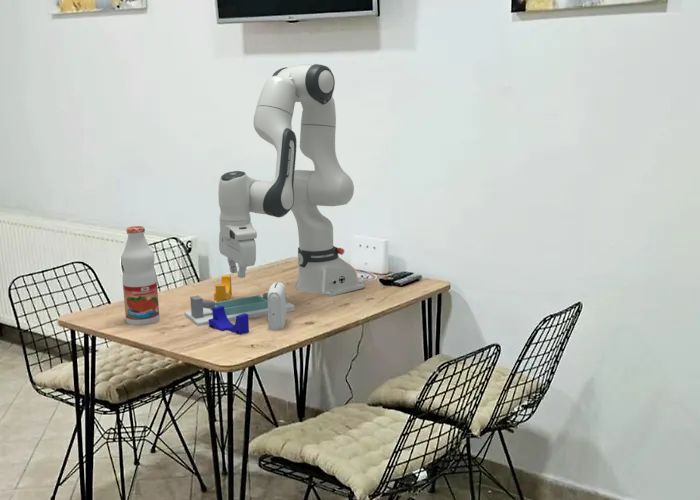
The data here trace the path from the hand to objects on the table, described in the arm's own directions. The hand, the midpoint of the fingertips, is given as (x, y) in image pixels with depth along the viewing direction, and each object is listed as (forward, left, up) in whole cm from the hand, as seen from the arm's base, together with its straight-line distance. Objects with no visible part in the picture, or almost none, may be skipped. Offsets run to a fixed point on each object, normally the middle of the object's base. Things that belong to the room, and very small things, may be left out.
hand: (237, 274), depth 245 cm
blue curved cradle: (+8, +13, -12) cm, 20 cm away
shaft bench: (0, 0, -12) cm, 12 cm away
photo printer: (-5, +16, -12) cm, 21 cm away
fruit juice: (+27, -7, -12) cm, 30 cm away
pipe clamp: (0, -16, -12) cm, 20 cm away
